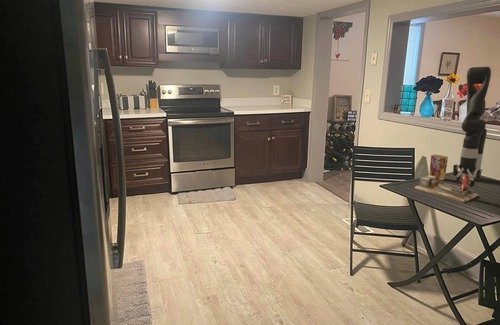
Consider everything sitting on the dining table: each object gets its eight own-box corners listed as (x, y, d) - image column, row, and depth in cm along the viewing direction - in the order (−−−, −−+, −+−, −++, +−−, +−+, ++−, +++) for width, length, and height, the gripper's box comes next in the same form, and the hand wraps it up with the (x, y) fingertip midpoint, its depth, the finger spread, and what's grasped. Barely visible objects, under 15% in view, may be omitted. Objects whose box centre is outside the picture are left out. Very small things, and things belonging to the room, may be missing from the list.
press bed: (429, 183, 220) (431, 173, 218) (477, 196, 197) (479, 185, 195) (414, 188, 211) (415, 178, 210) (463, 202, 189) (464, 191, 187)
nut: (432, 185, 212) (433, 179, 211) (439, 187, 209) (440, 181, 208) (429, 187, 210) (429, 180, 209) (435, 188, 206) (436, 182, 205)
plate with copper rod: (457, 191, 202) (460, 172, 199) (469, 194, 196) (472, 175, 193) (450, 194, 198) (453, 175, 195) (462, 197, 192) (465, 178, 189)
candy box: (445, 179, 227) (448, 156, 223) (442, 180, 224) (445, 157, 220) (431, 176, 233) (434, 153, 229) (428, 177, 231) (431, 155, 227)
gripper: (487, 157, 186) (482, 187, 190) (459, 152, 197) (455, 180, 202) (480, 159, 182) (475, 190, 186) (451, 154, 194) (448, 183, 198)
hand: (464, 185), depth 194 cm, fingers open, 6 cm apart
